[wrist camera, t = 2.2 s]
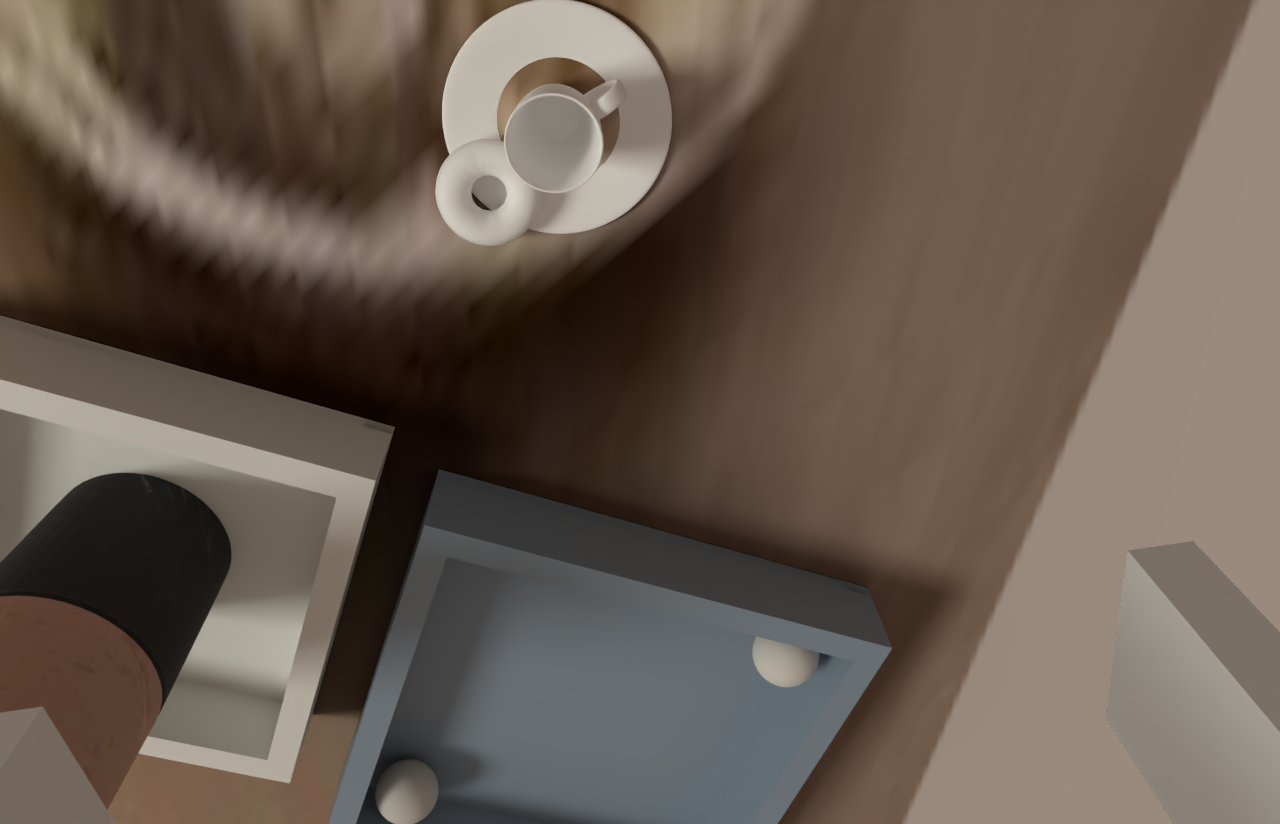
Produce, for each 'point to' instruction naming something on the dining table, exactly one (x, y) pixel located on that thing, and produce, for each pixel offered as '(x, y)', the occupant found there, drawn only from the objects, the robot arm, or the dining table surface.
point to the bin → (599, 671)
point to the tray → (240, 497)
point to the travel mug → (108, 613)
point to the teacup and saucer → (549, 126)
